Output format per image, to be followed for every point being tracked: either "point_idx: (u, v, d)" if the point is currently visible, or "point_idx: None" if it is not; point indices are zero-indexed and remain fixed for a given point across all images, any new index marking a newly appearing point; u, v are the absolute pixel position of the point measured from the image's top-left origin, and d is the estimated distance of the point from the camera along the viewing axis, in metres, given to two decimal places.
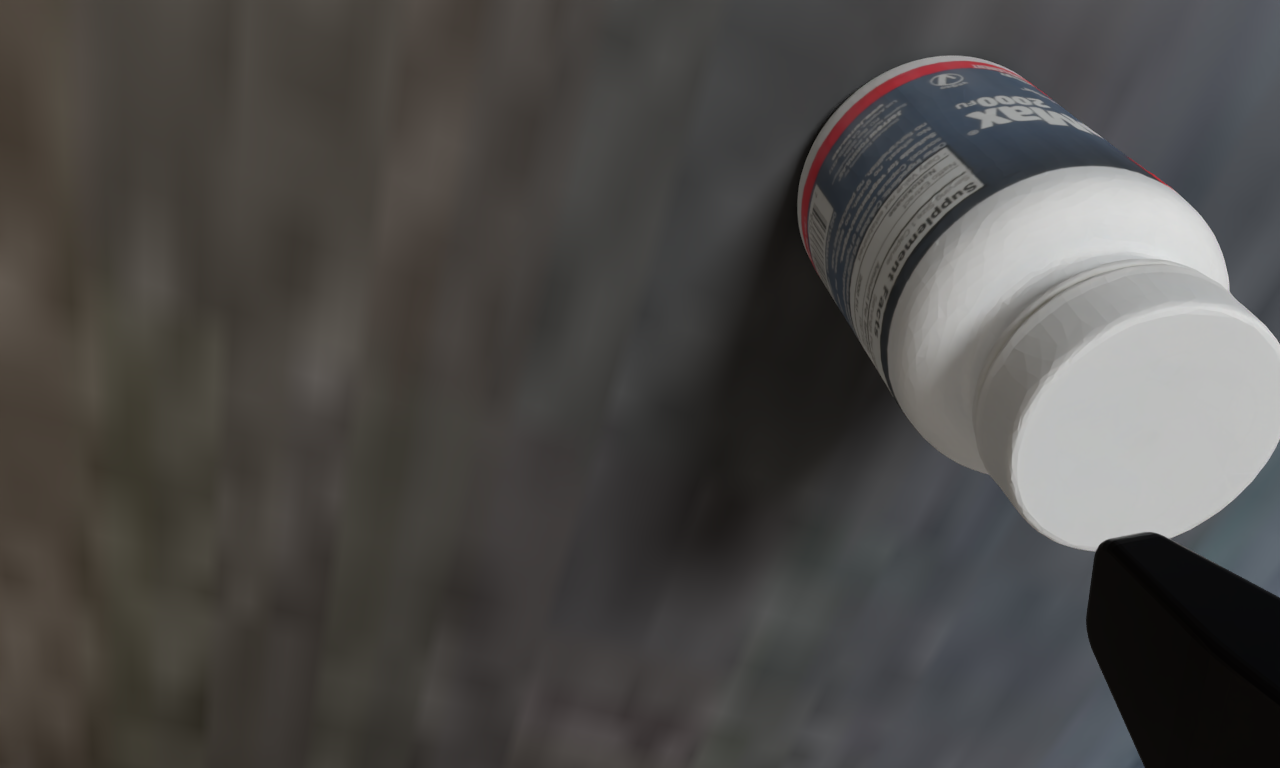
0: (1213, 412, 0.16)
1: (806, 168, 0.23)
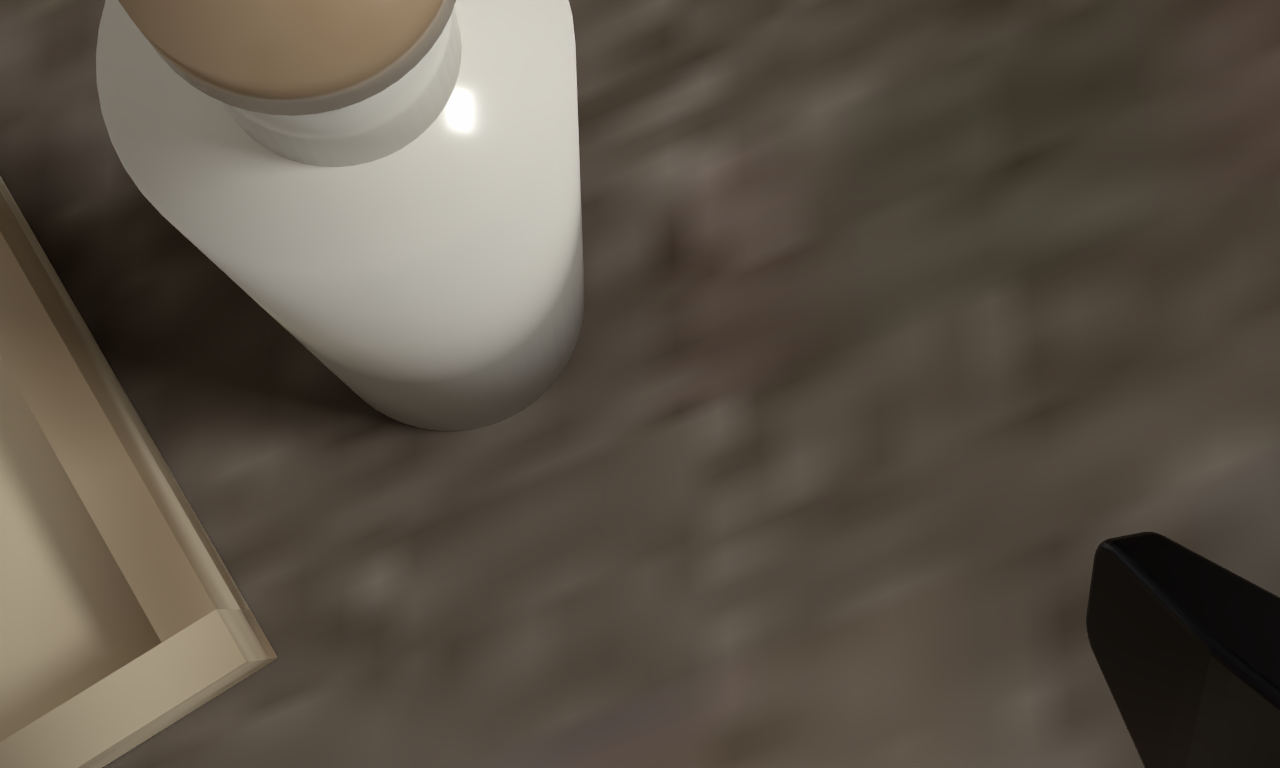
0: None
1: None
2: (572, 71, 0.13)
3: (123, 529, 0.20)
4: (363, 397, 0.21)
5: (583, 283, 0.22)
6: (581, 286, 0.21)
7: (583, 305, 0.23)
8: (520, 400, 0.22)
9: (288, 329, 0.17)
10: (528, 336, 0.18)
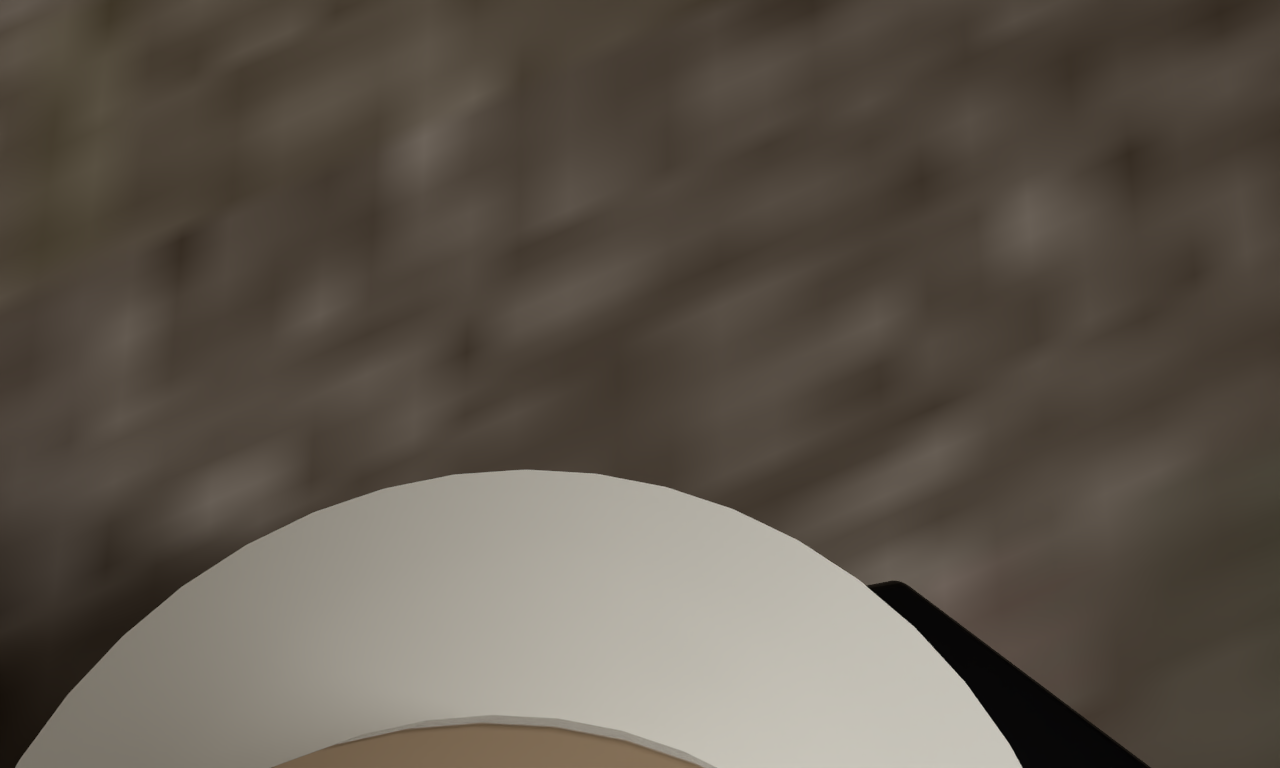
0: None
1: None
2: None
3: None
4: None
5: None
6: None
7: None
8: None
9: None
10: None
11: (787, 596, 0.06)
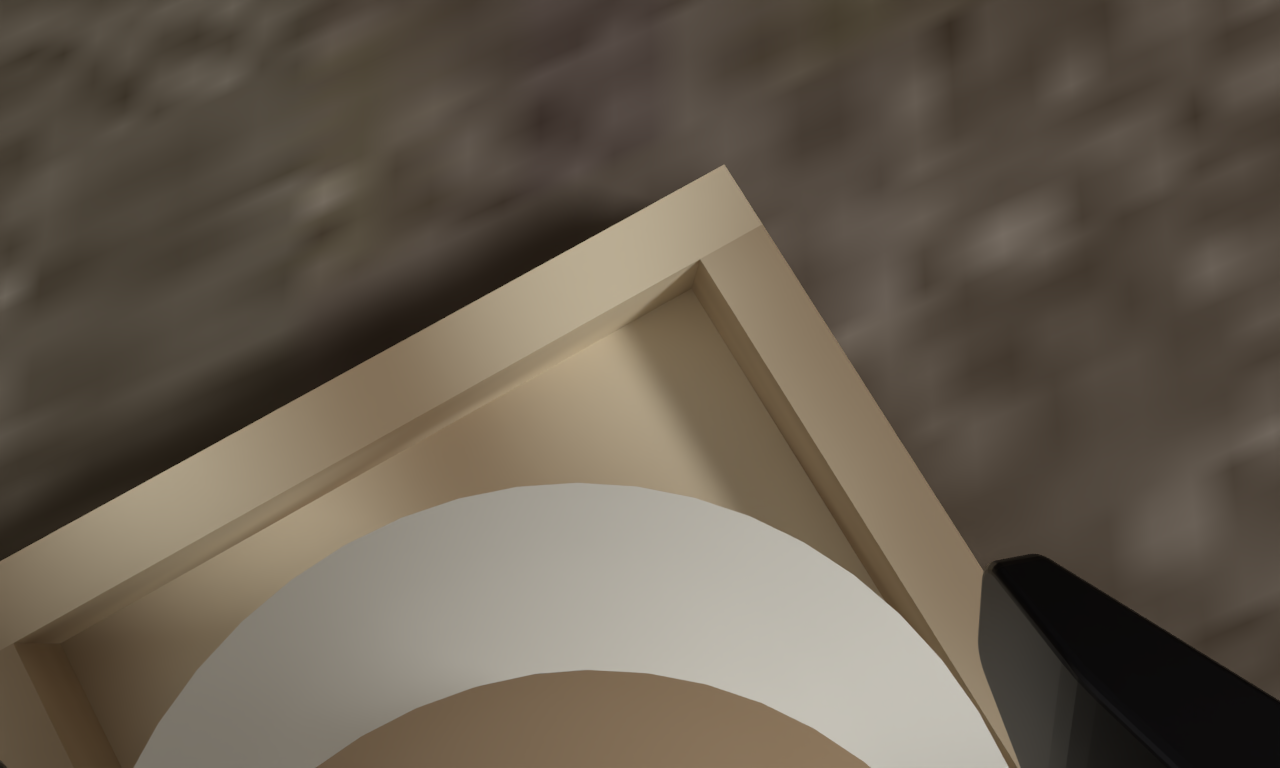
0: None
1: None
2: None
3: None
4: None
5: None
6: None
7: None
8: None
9: None
10: None
11: (795, 588, 0.07)
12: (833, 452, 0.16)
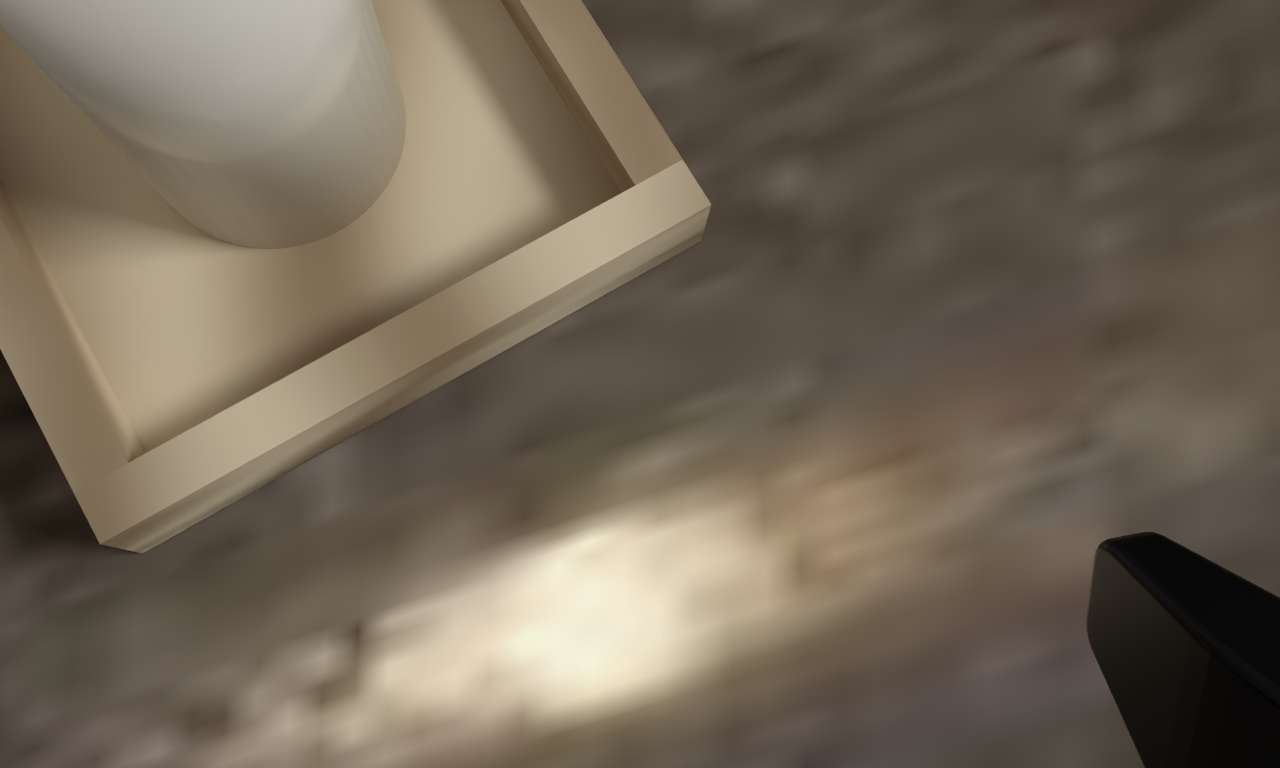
0: None
1: None
2: None
3: (597, 89, 0.23)
4: (169, 200, 0.22)
5: (396, 102, 0.23)
6: (384, 93, 0.21)
7: (401, 130, 0.23)
8: (328, 212, 0.22)
9: (44, 68, 0.17)
10: (299, 105, 0.18)
11: None
12: None
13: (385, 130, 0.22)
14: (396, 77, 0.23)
